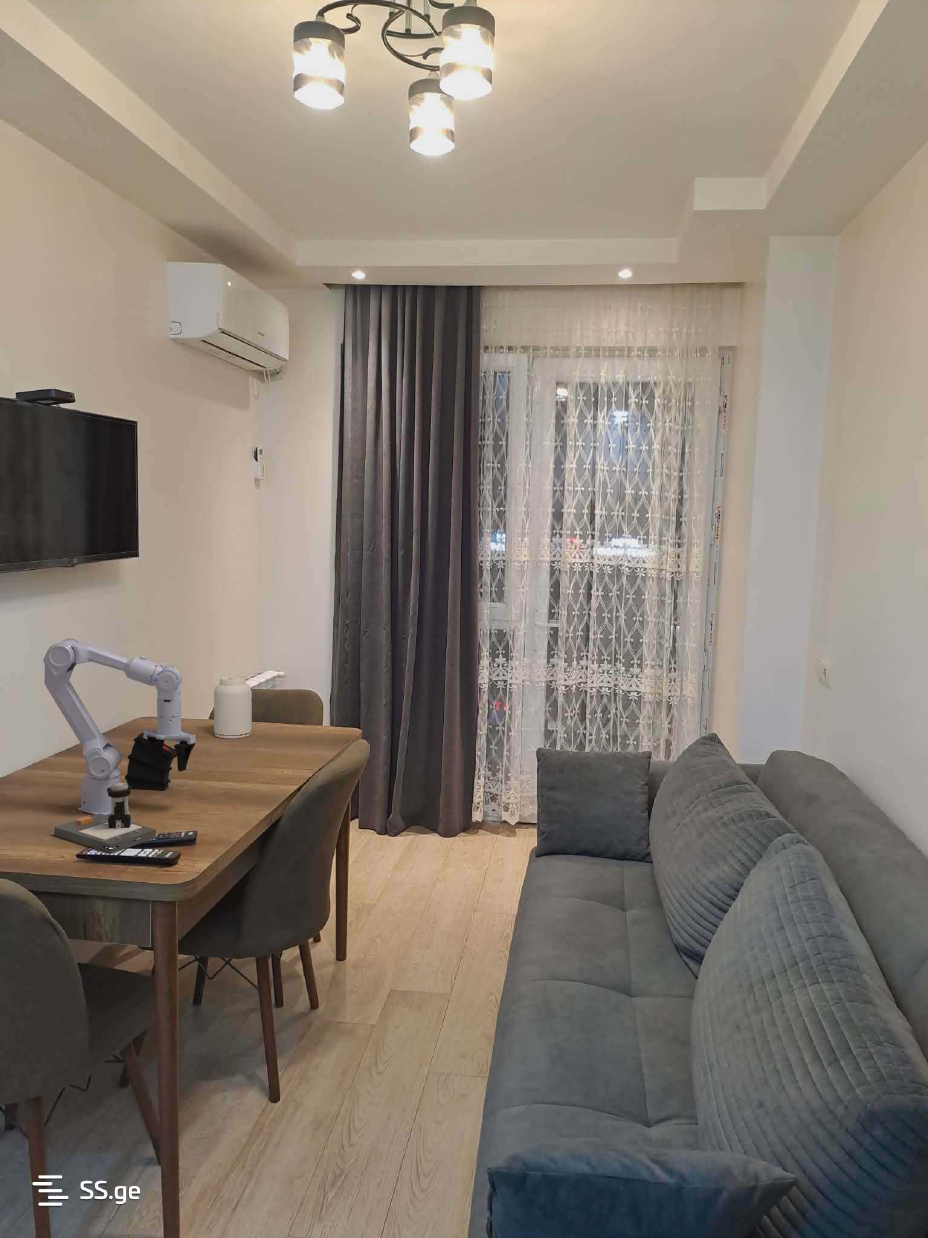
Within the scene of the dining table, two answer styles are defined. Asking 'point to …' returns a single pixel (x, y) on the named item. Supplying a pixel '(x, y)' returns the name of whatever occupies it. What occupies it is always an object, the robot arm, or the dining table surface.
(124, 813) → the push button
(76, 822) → the control panel
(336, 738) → the dining table surface
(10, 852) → the dining table surface
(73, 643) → the robot arm
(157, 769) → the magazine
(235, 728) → the white jar
